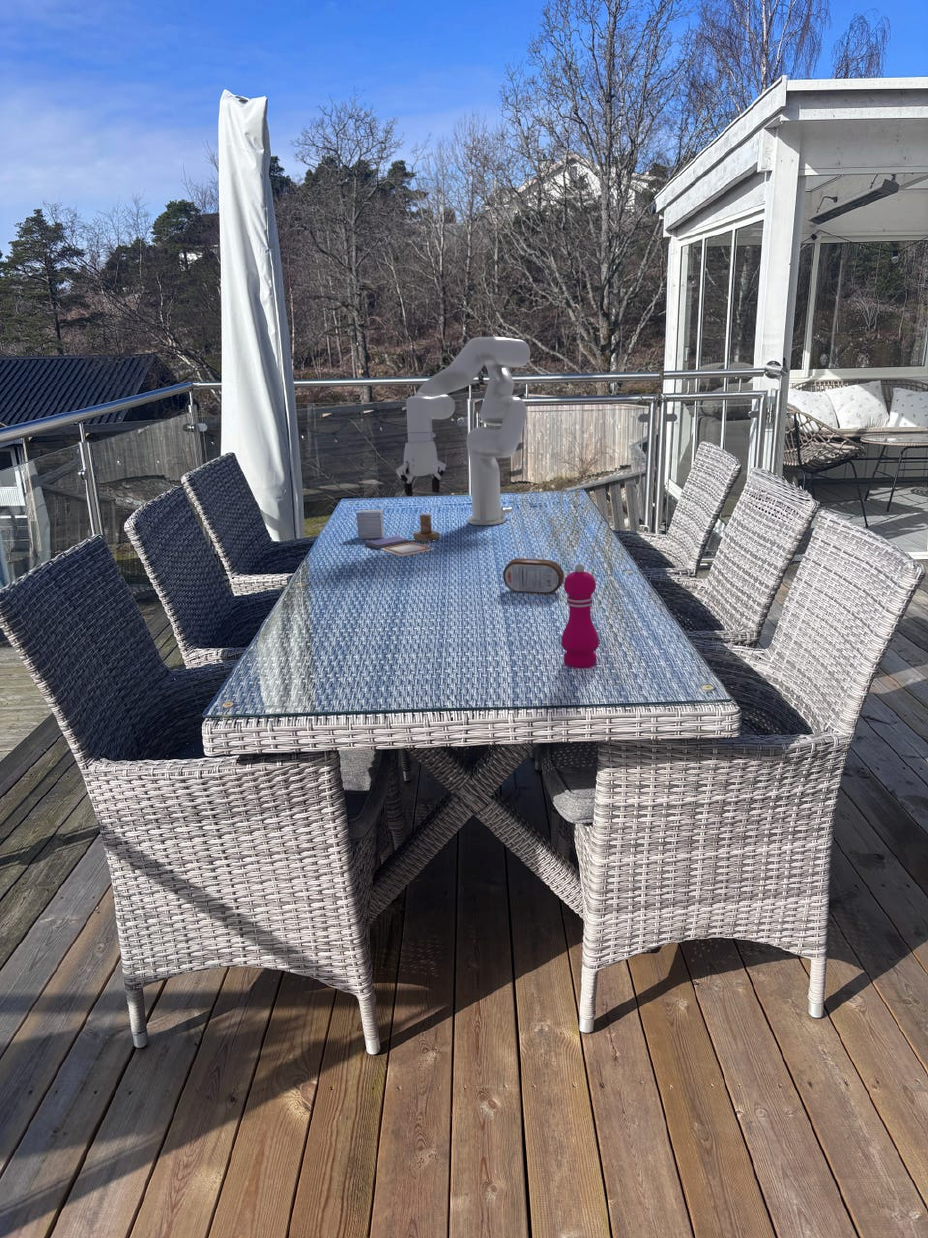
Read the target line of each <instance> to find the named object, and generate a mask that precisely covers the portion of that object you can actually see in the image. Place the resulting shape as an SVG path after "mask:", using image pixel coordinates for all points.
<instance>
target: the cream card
mask: <svg viewBox="0 0 928 1238" xmlns="http://www.w3.org/2000/svg"><path fill="white" fill-rule="evenodd" d="M434 549H435V548H434V547H432V546H431V547H430V546H428V545H425V544H423V543H420V542H419V543H418V542H417V541H411V543H406V544H401V545H395V546H390V547H385V548H381V549H380V550H381V551H384V552H386V553H390V554H393V555H395V556H398V557H400V558H401V557H405V556H410V555H417V554H421V553H425V551H426V552H431V551H435V550H434ZM430 550H431V551H430ZM420 552H421V553H420Z"/></svg>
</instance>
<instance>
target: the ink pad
mask: <svg viewBox="0 0 928 1238" xmlns="http://www.w3.org/2000/svg"><path fill="white" fill-rule="evenodd" d="M411 542H412V540H411V539H408V538H405V537H401V536H398V535H396V536H391V537H385V538H384V537H383V538H378V539H375V540H368V541H365V542H364V546H366V547H368V548H371V549H374V550H377V551H378V550H381V548H385V547H390V546H395V545H401V544H406V543H411Z"/></svg>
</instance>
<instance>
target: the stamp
mask: <svg viewBox="0 0 928 1238" xmlns="http://www.w3.org/2000/svg"><path fill="white" fill-rule="evenodd" d="M419 522H420V524H419V525H420V531H416V532H413V533H412V534H413V540H414V539H415V540H417V541H416V542H418V541H420V542H419V543H421V542H423V543H422V544H425V543H424V542H427V543H429V542H428V541H432V542H434V541H433V540H437V541H440V540H441V539H440V538H441V537H440V534H441V533H440V532H437V531H435V530H432V515H431V514H429V513H423V514H420V515H419ZM439 539H440V540H439ZM415 540H414V541H415Z"/></svg>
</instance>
